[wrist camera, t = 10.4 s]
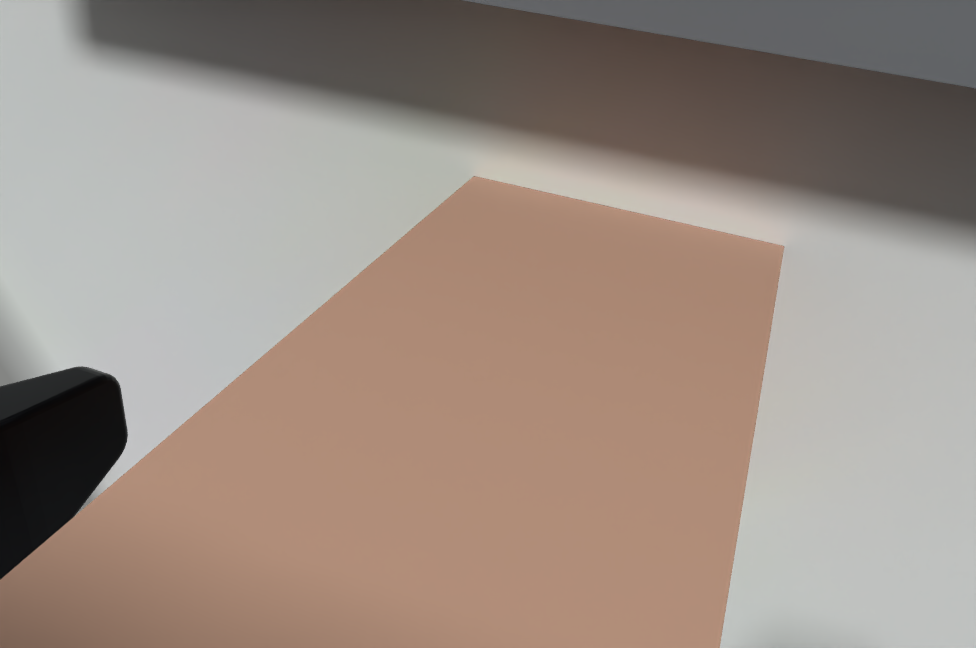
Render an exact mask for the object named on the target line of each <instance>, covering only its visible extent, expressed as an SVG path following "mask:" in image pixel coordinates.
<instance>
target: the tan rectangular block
mask: <svg viewBox="0 0 976 648" xmlns="http://www.w3.org/2000/svg"><path fill="white" fill-rule="evenodd" d="M783 251H784V246H781V245H776V244H772V243H767V242H763V241H759V240H754V239H750V238H745V237H741V236H736V235H732V234H728V233H723V232H719V231H714V230H710V229H706V228H701V227H697V226H692V225H688V224H683V223H679V222H675V221H670V220H666V219H661V218H657V217H652V216H648V215H644V214H639V213H635V212H630V211H626V210H621V209H617V208H613V207H608V206H604V205H599V204H595V203H590V202H586V201H582V200H577V199H573V198H568V197H564V196H559V195H555V194H551V193H546V192H542V191H537V190H533V189H529V188H524V187H520V186H515V185H511V184H506V183H502V182H498V181H493V180H489V179H484V178H480V177H475V176H473V177H472V178H471V179H470V180H469V181H468V182H466V183H465V184H464V185H463V186H462V187H461V188H459V189H458V190H457V191H456V192H455V193H453V194H452V195H451V196H450V197H449V198H448V199H446V200H445V201H444V202H443V203H442V204H441V205H439V206H438V207H437V208H436V209H435V210H434V211H432V212H431V213H430V214H429V215H428V216H427V217H425V218H424V219H423V220H422V221H421V222H419V223H418V224H417V225H416V226H415V227H414V228H412V229H411V230H410V231H409V232H408V233H407V234H405V235H404V236H403V237H402V238H401V239H400V240H398V241H397V242H396V243H395V244H394V245H392V246H391V247H390V248H389V249H388V250H387V251H385V252H384V253H383V254H382V255H381V256H380V257H378V258H377V259H376V260H375V261H374V262H373V263H371V264H370V265H369V266H368V267H367V268H365V269H364V270H363V271H362V272H361V273H360V274H358V275H357V276H356V277H355V278H354V279H353V280H351V281H350V282H349V283H348V284H347V285H346V286H344V287H343V288H342V289H341V290H340V291H339V292H337V293H336V294H335V295H334V296H333V297H331V298H330V299H329V300H328V301H327V302H326V303H324V304H323V305H322V306H321V307H320V308H319V309H317V310H316V311H315V312H314V313H313V314H312V315H310V316H309V317H308V318H307V319H306V320H304V321H303V322H302V323H301V324H300V325H299V326H297V327H296V328H295V329H294V330H293V331H292V332H290V333H289V334H288V335H287V336H286V337H285V338H283V339H282V340H281V341H280V342H279V343H277V344H276V345H275V346H274V347H273V348H272V349H270V350H269V351H268V352H267V353H266V354H265V355H263V356H262V357H261V358H260V359H259V360H258V361H256V362H255V363H254V364H253V365H252V366H250V367H249V368H248V369H247V370H246V371H245V372H243V373H242V374H241V375H240V376H239V377H238V378H236V379H235V380H234V381H233V382H232V383H231V384H229V385H228V386H227V387H226V388H225V389H224V390H222V391H221V392H220V393H219V394H218V395H216V396H215V397H214V398H213V399H212V400H211V401H209V402H208V403H207V404H206V405H205V406H204V407H202V408H201V409H200V410H199V411H198V412H197V413H195V414H194V415H193V416H192V417H191V418H189V419H188V420H187V421H186V422H185V423H184V424H182V425H181V426H180V427H179V428H178V429H177V430H175V431H174V432H173V433H172V434H171V435H170V436H168V437H167V438H166V439H165V440H164V441H162V442H161V443H160V444H159V445H158V446H157V447H155V448H154V449H153V450H152V451H151V452H150V453H148V454H147V455H146V456H145V457H144V458H143V459H141V460H140V461H139V462H138V463H137V464H136V465H134V466H133V467H132V468H131V469H130V470H128V471H127V472H126V473H125V474H124V475H123V476H121V477H120V478H119V479H118V480H117V481H116V482H114V483H113V484H112V485H111V486H110V487H109V488H107V489H106V490H105V491H104V492H103V493H101V494H100V495H99V496H98V497H97V498H96V499H94V500H93V501H92V502H91V503H90V504H89V505H87V506H86V507H85V508H84V509H83V510H82V511H80V512H79V513H78V514H77V515H76V516H74V517H73V518H72V519H71V520H70V521H69V522H67V523H66V524H65V525H64V526H63V527H62V528H60V529H59V530H58V531H57V532H56V533H55V534H53V535H52V536H51V537H50V538H49V539H47V540H46V541H45V542H44V543H43V544H42V545H40V546H39V547H38V548H37V549H36V550H35V551H33V552H32V553H31V554H30V555H29V556H28V557H26V558H25V559H24V560H23V561H22V562H21V563H19V564H18V565H17V566H16V567H15V568H13V569H12V570H11V571H10V572H9V573H8V574H6V575H5V576H4V577H3V578H2V579H1V580H0V648H720V641H721V635H722V629H723V623H724V617H725V610H726V604H727V598H728V592H729V586H730V579H731V573H732V567H733V561H734V555H735V548H736V542H737V536H738V530H739V524H740V517H741V511H742V505H743V499H744V493H745V486H746V480H747V474H748V468H749V462H750V455H751V449H752V443H753V437H754V431H755V424H756V418H757V412H758V406H759V400H760V393H761V387H762V381H763V375H764V369H765V362H766V356H767V350H768V344H769V338H770V331H771V325H772V319H773V313H774V306H775V300H776V294H777V288H778V282H779V275H780V269H781V263H782V257H783Z"/></svg>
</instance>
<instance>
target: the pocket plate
mask: <svg viewBox="0 0 976 648" xmlns="http://www.w3.org/2000/svg"><path fill="white" fill-rule="evenodd" d="M463 1H469V2H475V3H481V4H486V5H492V6H498V7H504V8H510V9H516V10H521V11H527V12H533V13H539V14H545V15H551V16H557V17H562V18H568V19H574V20H580V21H586V22H592V23H597V24H603V25H609V26H615V27H621V28H627V29H632V30H638V31H644V32H650V33H656V34H662V35H667V36H673V37H679V38H685V39H691V40H697V41H702V42H708V43H714V44H720V45H726V46H732V47H737V48H743V49H749V50H755V51H761V52H767V53H773V54H778V55H784V56H790V57H796V58H802V59H808V60H813V61H819V62H825V63H831V64H837V65H843V66H848V67H854V68H860V69H866V70H872V71H878V72H883V73H889V74H895V75H901V76H907V77H913V78H918V79H924V80H930V81H936V82H942V83H948V84H953V85H959V86H965V87H971V88H976V0H463Z"/></svg>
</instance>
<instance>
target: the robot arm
mask: <svg viewBox="0 0 976 648" xmlns="http://www.w3.org/2000/svg"><path fill="white" fill-rule="evenodd" d="M127 437H128V432H127V425H126V419H125V413H124V406H123V400H122V394H121V388H120V385H119V383H118V381H117V380H116V378H115V377H113V376H112V375H110V374H107V373H104V372H101V371H98V370H95V369H92V368H89V367H74V368H70V369H66V370H62V371H59V372H55V373H51V374H47V375H43V376H39V377H35V378H31V379H27V380H24V381H20V382H16V383H12V384H8V385H4V386H0V580H1V579H2V578H3V577H4V576H5V575H6V574H8V573H9V572H10V571H11V570H12V569H13V568H15V567H16V566H17V565H18V564H19V563H21V562H22V561H23V560H24V559H25V558H26V557H28V556H29V555H30V554H31V553H32V552H33V551H35V550H36V549H37V548H38V547H39V546H40V545H42V544H43V543H44V542H45V541H46V540H47V539H49V538H50V537H51V536H52V535H53V534H55V533H56V532H57V531H58V530H59V529H60V528H62V527H63V526H64V525H65V524H66V523H67V522H69V521H70V520H71V519H72V518H73V517H74V516H75V515H76V513H77V512H78V511H79V509H80V508H81V507H82V506H83V504H84V503H85V502H86V500H87V499H88V498H89V496H90V495H91V494H92V493H93V491H94V490H95V489H96V487H97V486H98V485H99V483H100V482H101V481H102V480H103V478H104V477H105V476H106V474H107V473H108V472H109V470H110V469H111V468H112V466H113V465H114V464H115V463H116V461H117V460H118V459H119V457H120V456H121V454H122V452H123V450H124V448H125V446H126V443H127Z"/></svg>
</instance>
